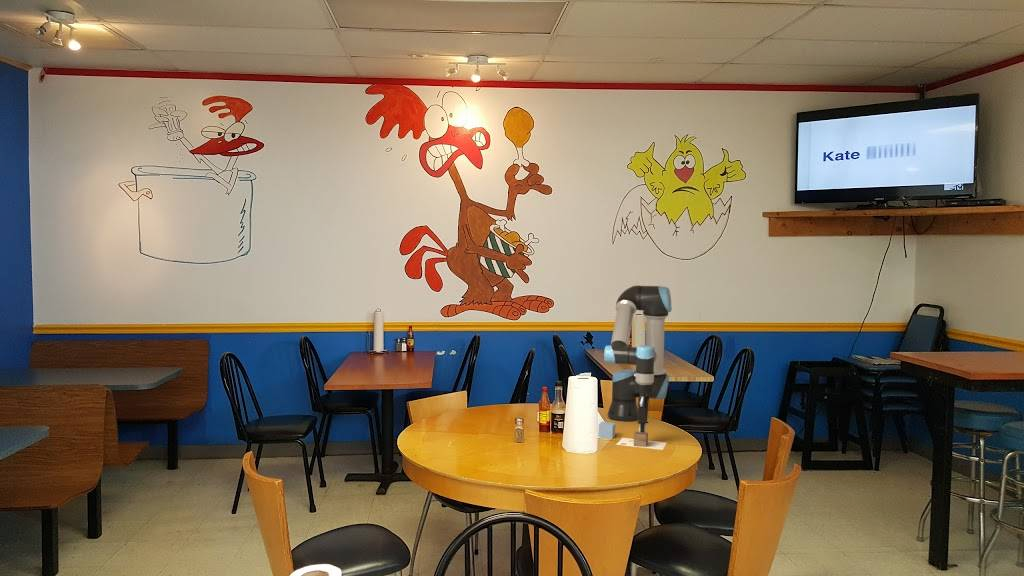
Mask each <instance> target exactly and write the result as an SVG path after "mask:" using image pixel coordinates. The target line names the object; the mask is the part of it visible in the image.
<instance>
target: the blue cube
mask: <svg viewBox="0 0 1024 576" xmlns="http://www.w3.org/2000/svg"><path fill="white" fill-rule="evenodd" d="M598 437H599V439H610V440H613V439H614V438H615V437H616V422H608V421H601V422H600V423H598Z"/></svg>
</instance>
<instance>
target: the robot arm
mask: <svg viewBox="0 0 1024 576" xmlns="http://www.w3.org/2000/svg"><path fill="white" fill-rule="evenodd" d="M671 297H672V296H671V291H670V289H669V288H668V287H667V286H661V285H633V286H630V287H628V288H627V289H625V290H624V291H622V292H621V294H620V295H619V297H618V298H617V301H616V303H615V310H616V315H615V319H614V325H613V326H614V327H613V330H612V336H611V341H610V345H609V344H608V345H605V347H604V351H603V352H604V353H603V360H604V362H605V363H608V364H613V365H614V364H618V365H620V364H621V365H632V366H633V365H635V368H631V369H630V368H627V369H626V368H625V369H619V370H615V371H614V372H613V374H612V380H611V381H612V384H611V385H612V388H611V390H612V391H611V403H610V406H609V408H608V411H607V418H608V417H609V418H608V419H610V420H613V421H618V422H619V421H620V422H635V421H637V424H639V425H638V426H639V427H638V431H640V432H647V424H648V423H649V421H648V417H649V416H648V415H649V414H648V413H649V400H650V399H653V400H654V399H655V400H663V399H665V398H666V397H667V392H668V387H669V381H670V375H669V374H667V370H666V369H665V368H664V355H665V327H666V326H665V320H666V319H667V317H668V316H669V313H670V312H672V298H671ZM636 311H642V315H643V316H644V317H645V345H638V346H635V347H634V346H629V343H630V338H631V337H630V336H631V332H632V331H631V329H632V325H633V319H634V314H636ZM637 398H638V401H637Z"/></svg>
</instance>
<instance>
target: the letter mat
mask: <svg viewBox="0 0 1024 576" xmlns="http://www.w3.org/2000/svg"><path fill="white" fill-rule="evenodd" d="M617 445H618V446H625V447H626V446H627V447H632V448H633V447H635V448H642V449H652V450H660V451H662V450H664V448H665V447H666V445H667V442H663V441H657V440H656V441H655V440H648V445H647V446H646V447H639V446H634V438H627V437H622V438H620V440H619V441H618V442H616V446H617Z"/></svg>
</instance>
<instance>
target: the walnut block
mask: <svg viewBox="0 0 1024 576" xmlns="http://www.w3.org/2000/svg"><path fill="white" fill-rule="evenodd" d="M633 439H634V446H639V447H638V448H641V447H646V446H647V445H648V441H649V440H648V439H649V432H648V431H646V432H640V431H639V430H636V431H635V432H634V434H633Z"/></svg>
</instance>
